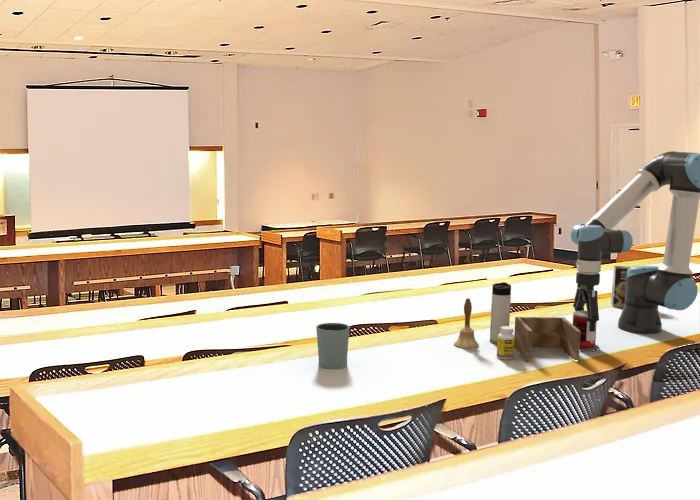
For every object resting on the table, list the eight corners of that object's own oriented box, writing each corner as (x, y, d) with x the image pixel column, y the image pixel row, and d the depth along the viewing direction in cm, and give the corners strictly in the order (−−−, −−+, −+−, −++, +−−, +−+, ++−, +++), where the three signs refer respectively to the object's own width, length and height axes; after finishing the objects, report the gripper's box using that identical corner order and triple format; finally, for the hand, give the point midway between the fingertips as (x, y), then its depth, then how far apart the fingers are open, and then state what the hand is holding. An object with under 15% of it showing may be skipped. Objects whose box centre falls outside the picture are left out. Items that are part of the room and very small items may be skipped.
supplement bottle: (503, 360, 272) (505, 330, 270) (493, 356, 276) (494, 326, 275) (517, 358, 274) (519, 328, 273) (506, 354, 279) (508, 324, 277)
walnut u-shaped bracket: (562, 346, 290) (564, 317, 288) (578, 362, 272) (580, 331, 270) (513, 346, 289) (515, 316, 287) (526, 361, 271) (528, 330, 269)
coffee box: (612, 307, 351) (615, 268, 349) (610, 303, 358) (613, 265, 355) (636, 308, 350) (639, 269, 347) (633, 305, 356) (636, 266, 354)
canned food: (593, 342, 293) (594, 311, 291) (597, 349, 285) (599, 316, 283) (569, 342, 293) (571, 310, 292) (573, 348, 286) (575, 315, 284)
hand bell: (478, 349, 284) (480, 302, 281) (452, 347, 285) (454, 300, 283) (479, 343, 292) (481, 296, 289) (454, 341, 293) (456, 295, 291)
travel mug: (510, 340, 296) (513, 283, 293) (505, 345, 290) (508, 286, 287) (492, 338, 298) (495, 281, 295) (487, 342, 292) (490, 284, 289)
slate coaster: (593, 343, 294) (593, 341, 294) (602, 351, 284) (603, 350, 284) (564, 343, 294) (564, 341, 294) (572, 351, 284) (572, 349, 284)
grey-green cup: (337, 371, 256) (337, 332, 254) (308, 365, 262) (309, 327, 260) (355, 363, 265) (356, 325, 263) (327, 358, 270) (328, 320, 268)
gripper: (566, 265, 297) (562, 325, 301) (588, 279, 273) (584, 345, 276) (587, 265, 298) (583, 326, 301) (612, 279, 273) (607, 345, 276)
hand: (584, 335), depth 289 cm, fingers open, 13 cm apart
